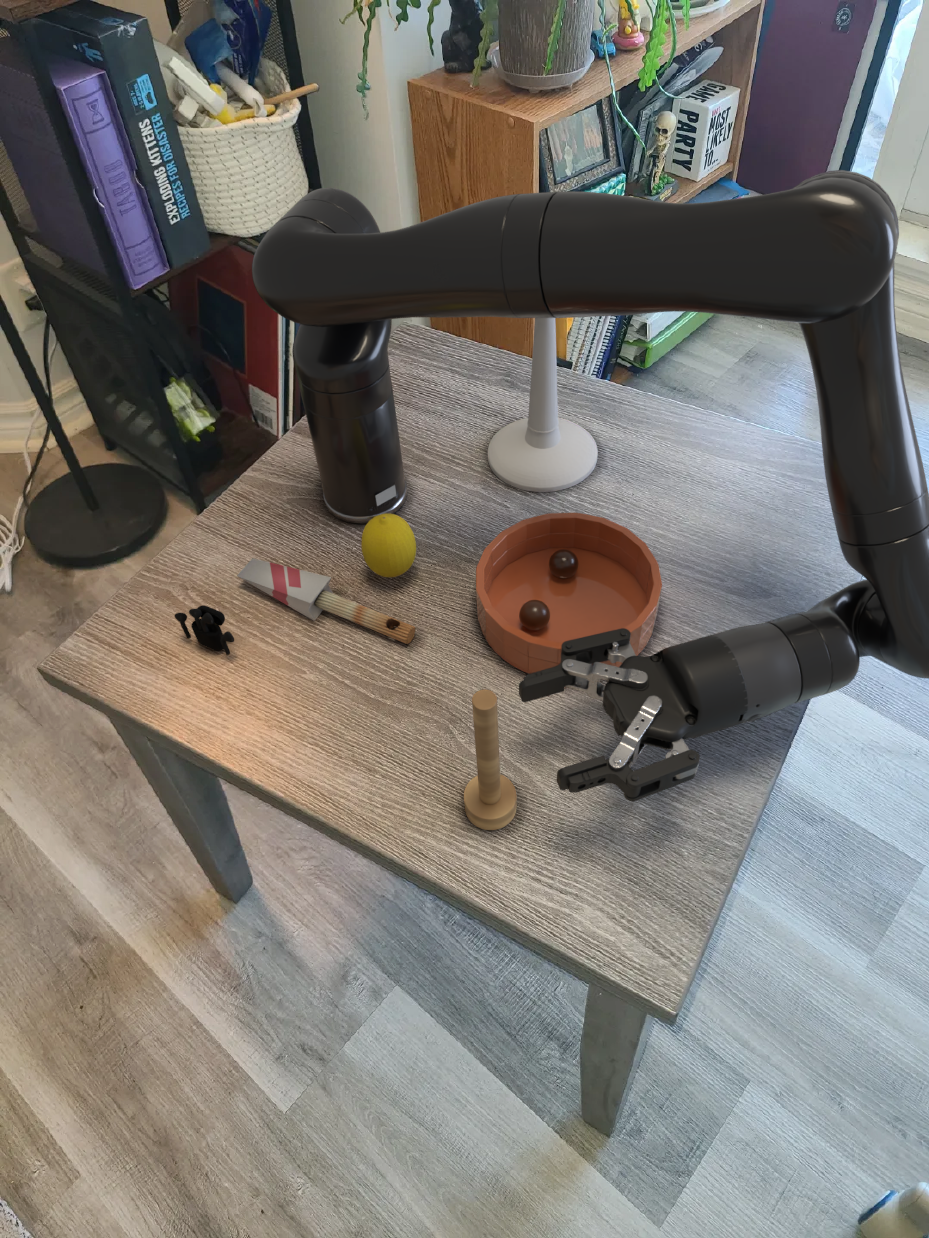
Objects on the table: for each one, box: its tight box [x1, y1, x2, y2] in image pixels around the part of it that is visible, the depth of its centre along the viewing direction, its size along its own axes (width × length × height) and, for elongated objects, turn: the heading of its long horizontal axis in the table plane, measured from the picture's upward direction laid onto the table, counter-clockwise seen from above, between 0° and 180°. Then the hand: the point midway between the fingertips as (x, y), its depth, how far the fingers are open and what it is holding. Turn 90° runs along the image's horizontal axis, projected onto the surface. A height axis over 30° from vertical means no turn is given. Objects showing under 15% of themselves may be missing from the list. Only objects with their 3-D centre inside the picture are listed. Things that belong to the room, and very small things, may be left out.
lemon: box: [360, 513, 417, 578], centre depth 91 cm, size 6×6×8 cm
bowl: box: [475, 512, 663, 674], centre depth 88 cm, size 18×18×5 cm
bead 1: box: [519, 600, 550, 631], centre depth 87 cm, size 3×3×3 cm
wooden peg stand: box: [463, 688, 518, 831], centre depth 70 cm, size 4×4×16 cm
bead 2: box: [549, 549, 578, 579], centre depth 91 cm, size 3×3×3 cm
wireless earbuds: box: [174, 605, 235, 656], centre depth 87 cm, size 7×2×5 cm, turn 63°
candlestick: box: [487, 318, 599, 493], centre depth 93 cm, size 13×13×30 cm
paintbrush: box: [236, 557, 416, 645], centre depth 90 cm, size 4×3×20 cm
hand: (538, 735), depth 70 cm, fingers open, 8 cm apart
